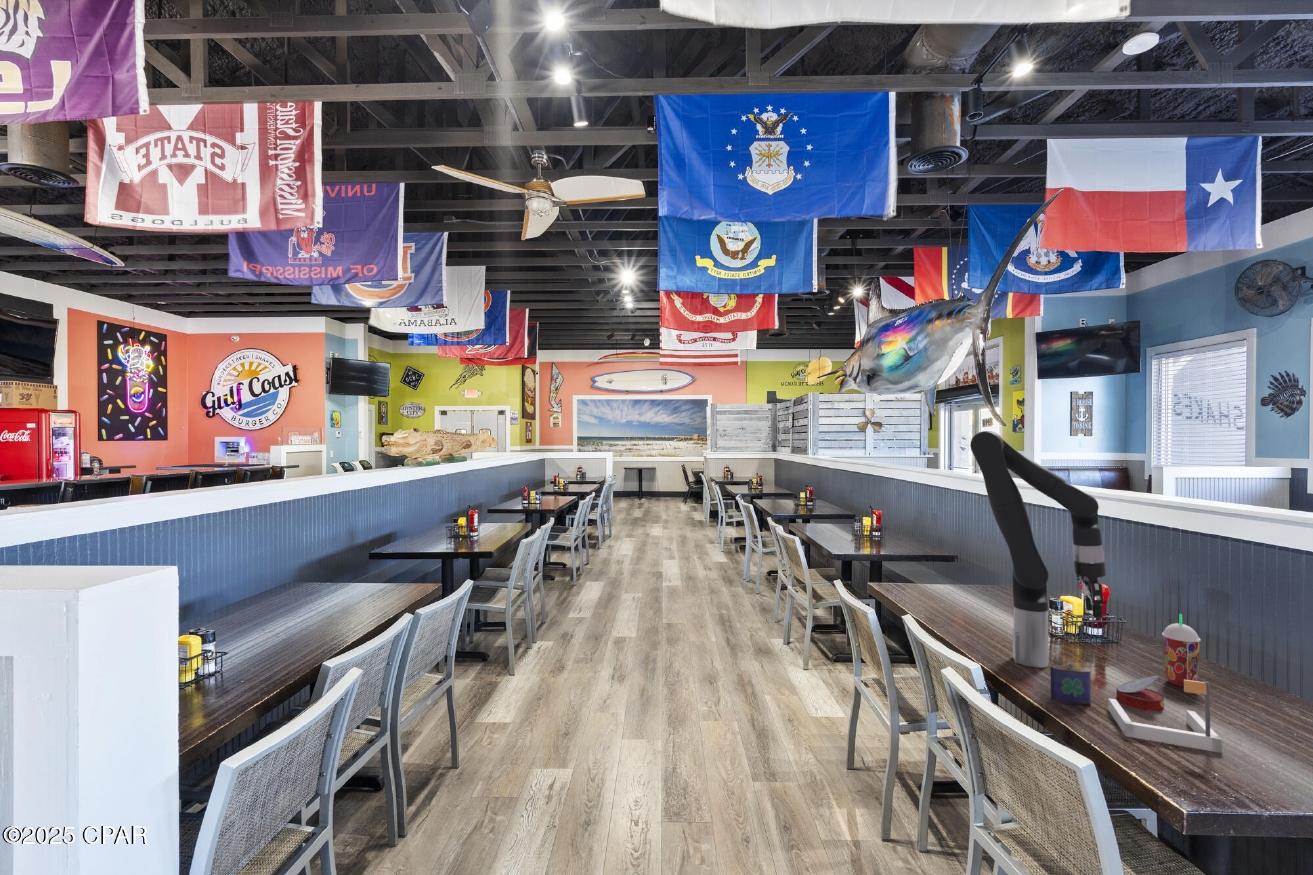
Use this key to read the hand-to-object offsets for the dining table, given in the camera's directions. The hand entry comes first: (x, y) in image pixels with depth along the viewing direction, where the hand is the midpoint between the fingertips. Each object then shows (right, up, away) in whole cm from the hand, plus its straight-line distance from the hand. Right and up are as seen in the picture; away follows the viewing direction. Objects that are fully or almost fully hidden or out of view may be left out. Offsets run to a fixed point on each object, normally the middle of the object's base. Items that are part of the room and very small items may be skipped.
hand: (1094, 613), depth 176 cm
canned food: (-3, -18, -20) cm, 27 cm away
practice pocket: (-10, -17, -35) cm, 40 cm away
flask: (-21, -18, -20) cm, 34 cm away
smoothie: (+20, -18, -7) cm, 28 cm away
